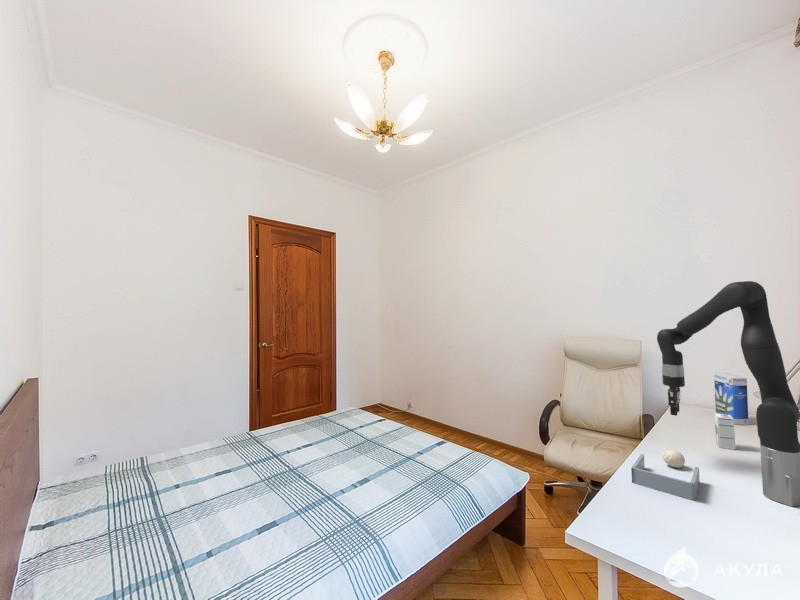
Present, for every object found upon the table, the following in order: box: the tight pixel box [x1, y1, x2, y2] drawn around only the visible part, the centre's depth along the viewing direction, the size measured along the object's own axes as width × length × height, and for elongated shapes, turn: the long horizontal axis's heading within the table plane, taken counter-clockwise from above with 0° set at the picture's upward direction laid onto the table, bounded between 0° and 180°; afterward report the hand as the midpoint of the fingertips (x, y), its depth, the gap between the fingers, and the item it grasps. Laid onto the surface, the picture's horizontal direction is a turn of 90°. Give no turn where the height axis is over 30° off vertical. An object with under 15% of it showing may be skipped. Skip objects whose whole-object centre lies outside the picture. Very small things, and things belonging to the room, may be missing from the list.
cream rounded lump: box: [662, 448, 686, 469], centre depth 139 cm, size 7×7×7 cm
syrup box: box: [713, 413, 736, 451], centre depth 157 cm, size 6×6×14 cm
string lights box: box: [713, 372, 749, 426], centre depth 191 cm, size 13×8×26 cm, turn 172°
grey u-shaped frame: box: [631, 453, 701, 502], centre depth 127 cm, size 17×18×6 cm
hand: (675, 413), depth 147 cm, fingers open, 6 cm apart
